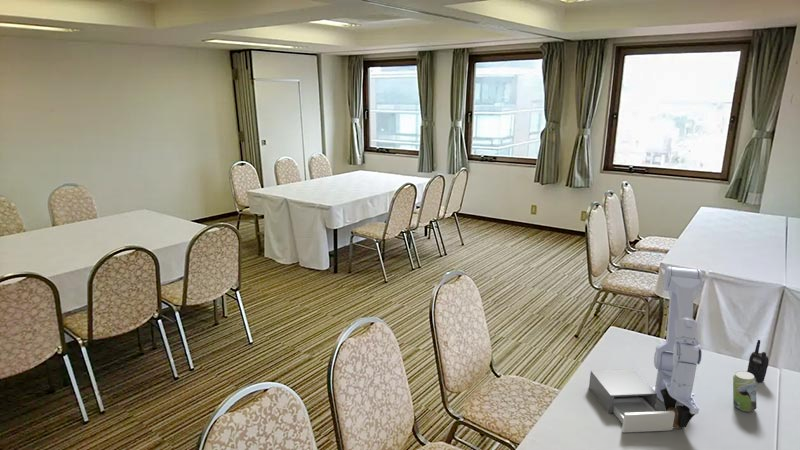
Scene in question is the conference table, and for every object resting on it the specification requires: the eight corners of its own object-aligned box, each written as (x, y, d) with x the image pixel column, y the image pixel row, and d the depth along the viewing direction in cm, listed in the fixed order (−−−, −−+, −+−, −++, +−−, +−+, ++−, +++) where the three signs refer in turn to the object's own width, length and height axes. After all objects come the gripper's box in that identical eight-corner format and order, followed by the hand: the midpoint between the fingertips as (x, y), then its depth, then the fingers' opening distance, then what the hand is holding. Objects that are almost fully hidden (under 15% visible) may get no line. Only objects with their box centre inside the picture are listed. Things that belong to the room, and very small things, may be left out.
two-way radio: (743, 376, 170) (751, 339, 166) (750, 373, 172) (758, 335, 168) (761, 384, 166) (770, 345, 162) (767, 380, 168) (776, 342, 164)
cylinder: (677, 417, 149) (679, 406, 148) (688, 428, 144) (690, 417, 143) (662, 418, 149) (664, 407, 148) (672, 429, 144) (673, 418, 143)
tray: (646, 402, 156) (649, 386, 154) (672, 430, 143) (675, 412, 141) (602, 403, 155) (604, 387, 154) (623, 432, 142) (625, 415, 140)
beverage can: (759, 415, 150) (766, 381, 147) (733, 412, 151) (740, 378, 148) (749, 402, 156) (756, 370, 153) (724, 400, 157) (730, 367, 154)
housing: (631, 385, 165) (633, 368, 164) (654, 411, 152) (657, 393, 150) (588, 387, 165) (590, 370, 163) (608, 413, 151) (610, 395, 149)
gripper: (712, 394, 136) (704, 435, 139) (680, 366, 150) (673, 404, 153) (688, 395, 135) (680, 436, 139) (658, 367, 149) (652, 404, 153)
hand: (675, 419), depth 146 cm, fingers open, 6 cm apart
